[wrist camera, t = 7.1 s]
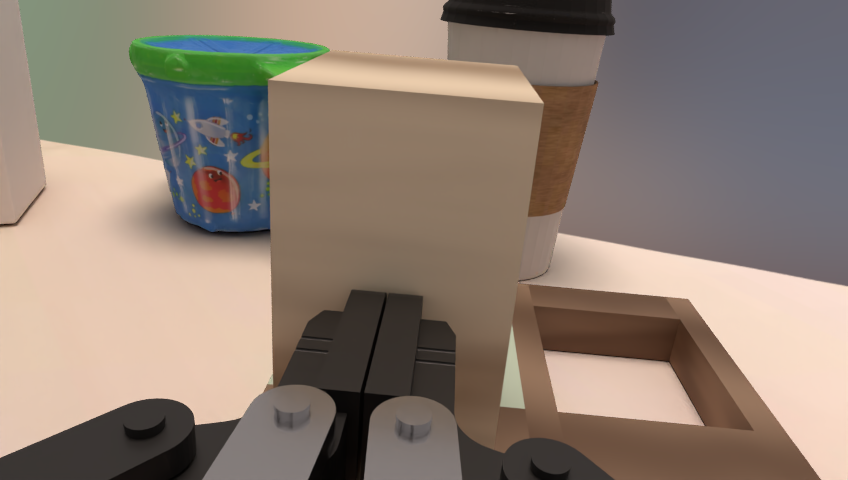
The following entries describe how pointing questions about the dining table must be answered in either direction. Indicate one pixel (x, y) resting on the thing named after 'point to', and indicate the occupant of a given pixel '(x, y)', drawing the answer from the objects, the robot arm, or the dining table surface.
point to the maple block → (404, 201)
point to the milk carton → (17, 121)
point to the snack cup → (216, 121)
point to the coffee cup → (540, 88)
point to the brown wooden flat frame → (639, 439)
